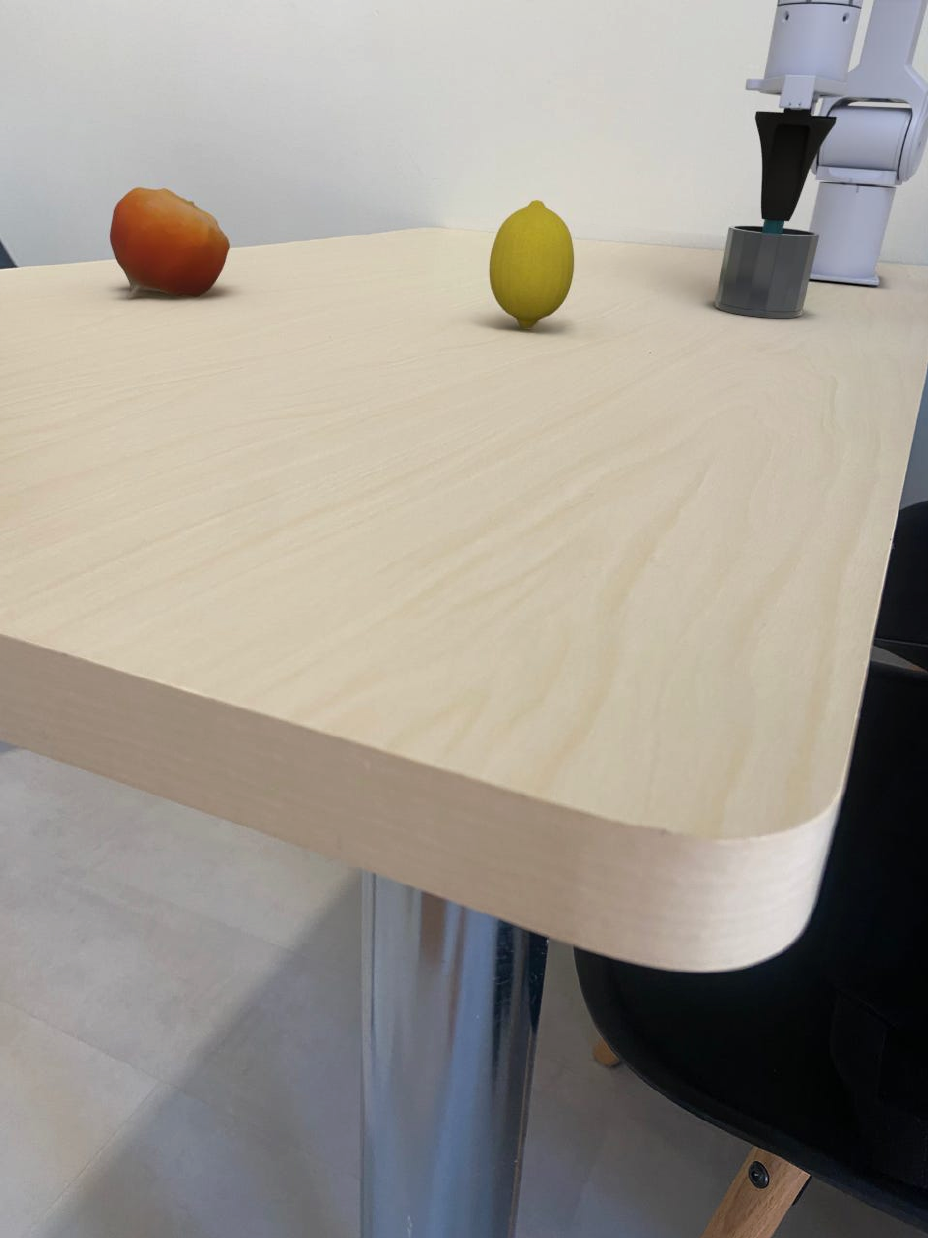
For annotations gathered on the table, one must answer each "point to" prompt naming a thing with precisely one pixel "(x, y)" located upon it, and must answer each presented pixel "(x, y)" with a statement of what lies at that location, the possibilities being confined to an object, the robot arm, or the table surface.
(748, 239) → the tumbler
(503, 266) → the lemon
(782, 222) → the teal rectangular block
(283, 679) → the table surface
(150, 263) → the fruit
